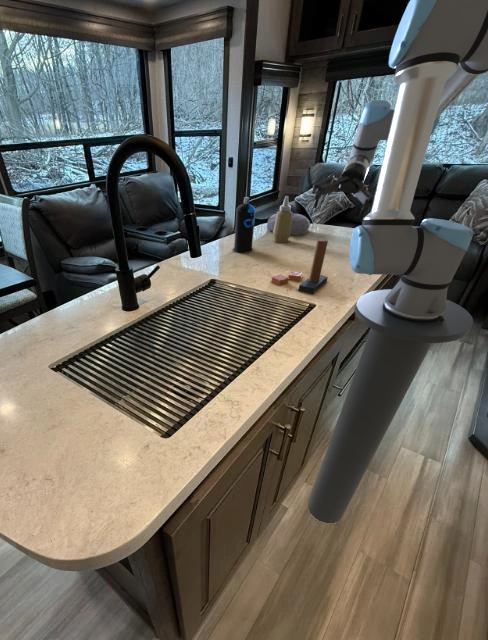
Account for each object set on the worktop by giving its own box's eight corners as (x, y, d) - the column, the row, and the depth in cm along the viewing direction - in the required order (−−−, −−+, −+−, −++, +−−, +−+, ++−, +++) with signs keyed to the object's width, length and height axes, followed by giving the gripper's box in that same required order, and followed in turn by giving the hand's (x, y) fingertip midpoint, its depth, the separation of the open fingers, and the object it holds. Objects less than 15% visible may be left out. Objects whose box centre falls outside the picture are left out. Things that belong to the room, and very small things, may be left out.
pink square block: (301, 277, 120) (302, 272, 119) (299, 281, 118) (300, 276, 116) (290, 276, 122) (291, 271, 121) (288, 280, 119) (288, 275, 118)
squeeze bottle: (288, 244, 150) (295, 198, 138) (270, 243, 152) (275, 197, 140) (290, 239, 155) (297, 194, 143) (273, 238, 158) (278, 194, 146)
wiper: (326, 282, 116) (337, 236, 106) (312, 294, 109) (323, 246, 100) (312, 279, 119) (322, 234, 109) (298, 290, 112) (307, 243, 102)
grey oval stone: (262, 232, 165) (300, 238, 155) (264, 213, 160) (304, 218, 150) (277, 225, 174) (314, 230, 164) (279, 207, 168) (317, 211, 159)
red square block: (287, 282, 117) (288, 277, 116) (279, 285, 116) (279, 280, 115) (279, 279, 120) (280, 274, 119) (271, 282, 118) (272, 276, 117)
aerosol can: (229, 250, 146) (232, 198, 133) (240, 245, 151) (243, 194, 137) (245, 254, 142) (249, 200, 129) (256, 249, 146) (260, 196, 133)
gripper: (386, 195, 110) (374, 231, 101) (313, 178, 116) (295, 211, 106) (399, 171, 103) (387, 206, 94) (320, 154, 109) (301, 186, 100)
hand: (338, 209), depth 100 cm, fingers open, 13 cm apart
